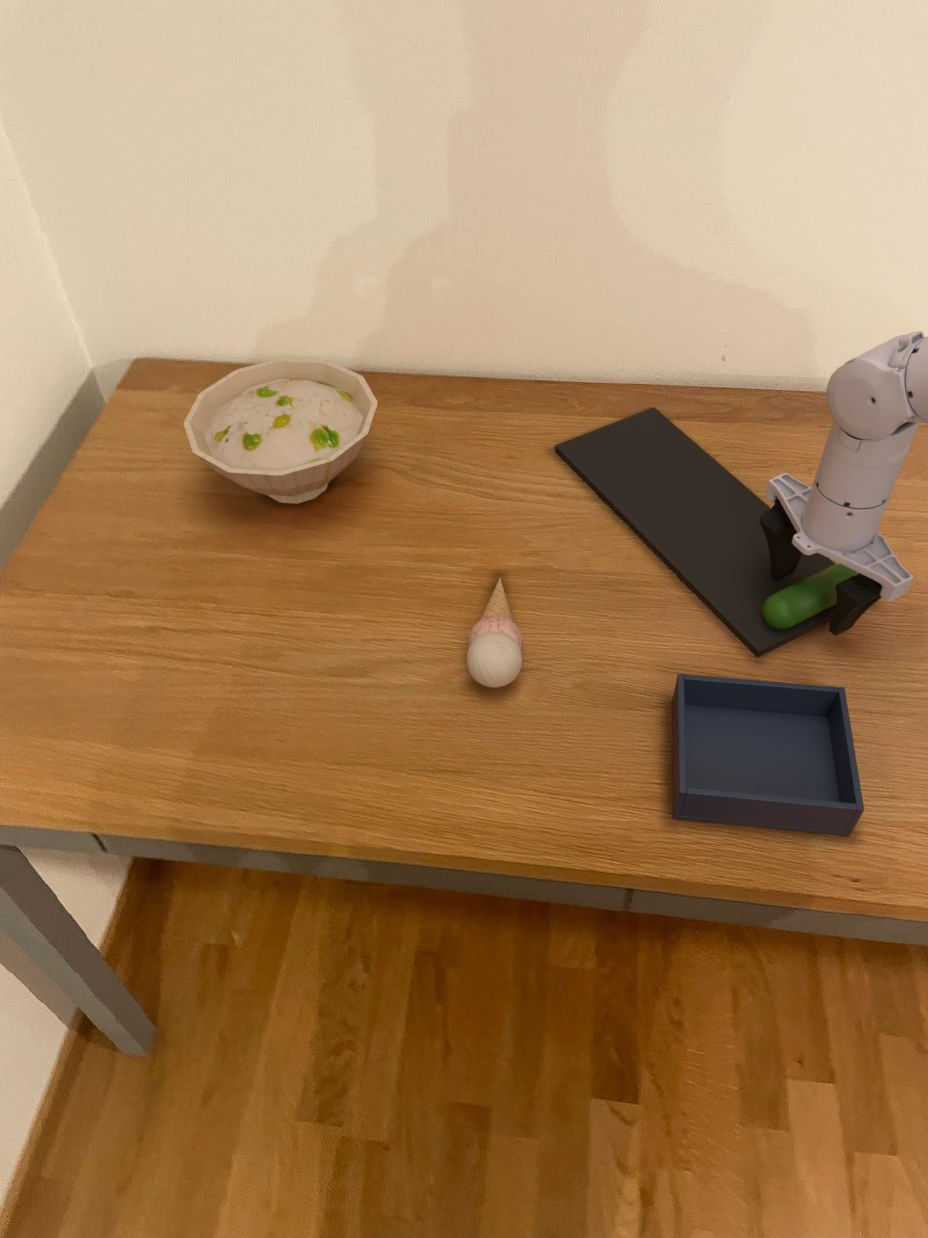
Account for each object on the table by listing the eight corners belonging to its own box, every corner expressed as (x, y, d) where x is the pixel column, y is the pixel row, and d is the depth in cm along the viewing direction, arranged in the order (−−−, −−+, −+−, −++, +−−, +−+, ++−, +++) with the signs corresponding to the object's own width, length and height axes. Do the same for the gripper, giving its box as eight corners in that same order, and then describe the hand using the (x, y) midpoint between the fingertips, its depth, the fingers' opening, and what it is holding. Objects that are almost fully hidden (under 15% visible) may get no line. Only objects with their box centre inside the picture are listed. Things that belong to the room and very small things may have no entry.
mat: (869, 601, 84) (872, 595, 84) (757, 657, 81) (759, 651, 80) (653, 412, 104) (653, 406, 103) (554, 451, 100) (554, 445, 99)
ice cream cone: (489, 603, 90) (481, 706, 78) (466, 567, 88) (454, 666, 76) (533, 586, 88) (531, 688, 76) (511, 548, 86) (505, 647, 74)
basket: (831, 716, 76) (844, 687, 73) (849, 836, 69) (864, 810, 66) (671, 702, 78) (677, 673, 75) (672, 818, 71) (679, 792, 68)
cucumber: (837, 577, 85) (845, 551, 83) (863, 598, 83) (872, 572, 81) (751, 619, 82) (757, 593, 80) (776, 641, 80) (783, 616, 78)
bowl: (381, 416, 105) (371, 339, 98) (393, 533, 93) (382, 454, 85) (211, 434, 104) (187, 357, 97) (199, 555, 92) (171, 477, 84)
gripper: (750, 450, 75) (722, 567, 85) (883, 560, 66) (834, 675, 77) (817, 422, 77) (781, 539, 87) (954, 525, 69) (897, 642, 79)
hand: (810, 601), depth 82 cm, fingers open, 7 cm apart
